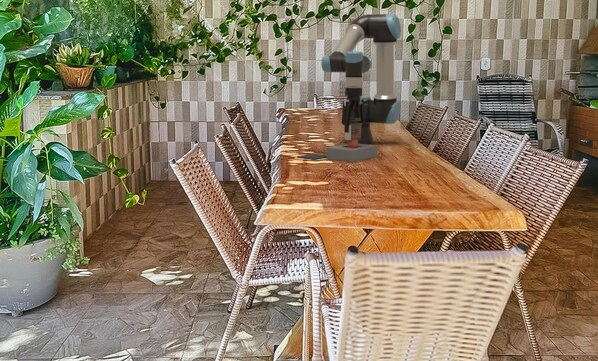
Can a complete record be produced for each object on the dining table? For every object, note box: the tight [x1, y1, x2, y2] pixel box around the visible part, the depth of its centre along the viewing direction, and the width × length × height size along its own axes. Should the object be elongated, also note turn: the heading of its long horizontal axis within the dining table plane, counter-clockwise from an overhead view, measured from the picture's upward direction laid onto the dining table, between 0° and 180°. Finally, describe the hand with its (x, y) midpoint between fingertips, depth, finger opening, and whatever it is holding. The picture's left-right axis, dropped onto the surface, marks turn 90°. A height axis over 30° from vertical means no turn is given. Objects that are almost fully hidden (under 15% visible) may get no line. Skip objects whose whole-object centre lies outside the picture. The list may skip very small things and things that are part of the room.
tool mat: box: [296, 152, 327, 161], centre depth 315 cm, size 12×10×1 cm
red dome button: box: [346, 141, 358, 148], centre depth 313 cm, size 5×5×5 cm
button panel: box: [326, 143, 379, 163], centre depth 314 cm, size 20×14×5 cm
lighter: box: [343, 118, 362, 142], centre depth 311 cm, size 8×3×10 cm, turn 105°
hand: (352, 138), depth 312 cm, fingers closed on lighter, 7 cm apart
